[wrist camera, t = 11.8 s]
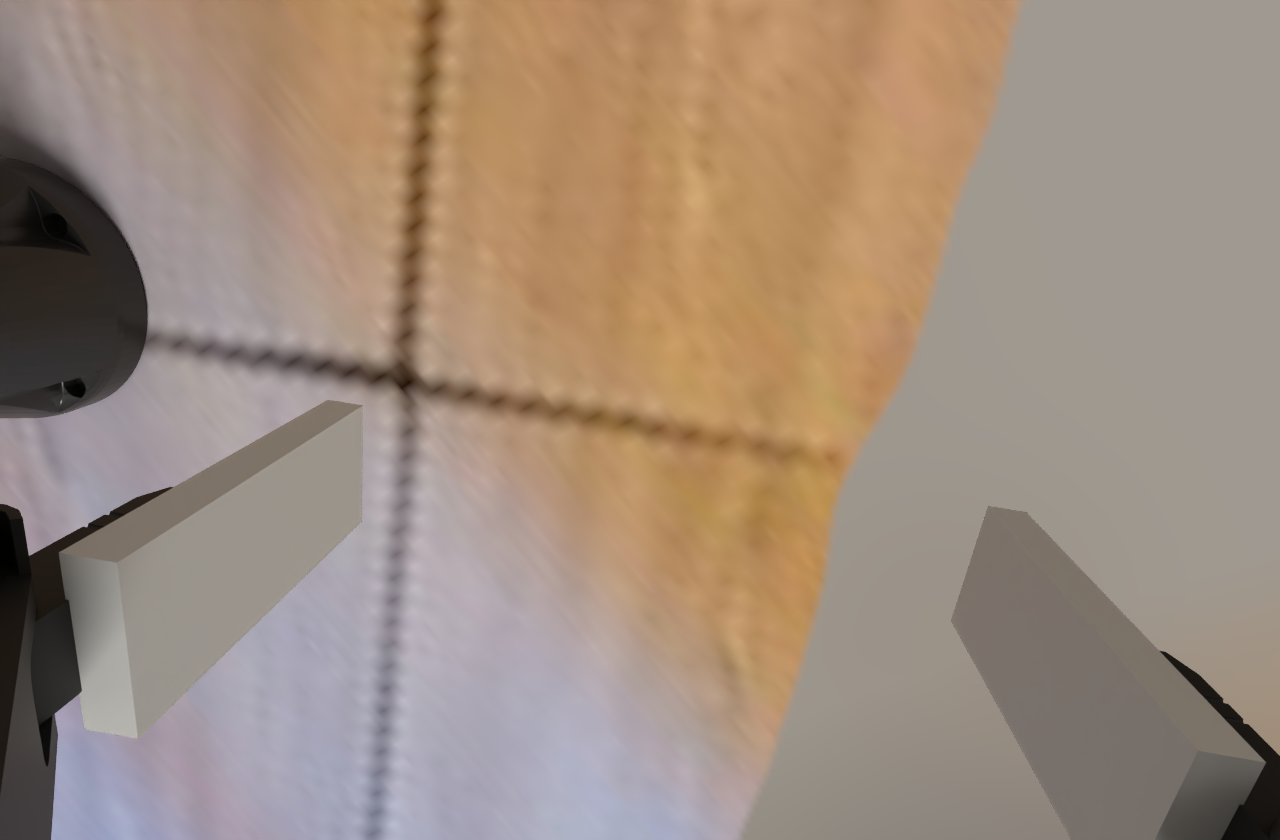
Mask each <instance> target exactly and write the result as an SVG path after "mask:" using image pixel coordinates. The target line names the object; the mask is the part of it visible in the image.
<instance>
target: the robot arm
mask: <svg viewBox="0 0 1280 840" xmlns="http://www.w3.org/2000/svg"><path fill="white" fill-rule="evenodd" d="M146 330H147V309H146V300H145V295H144V290H143V286H142V282H141V279H140V276H139V273H138V270H137V268H136V265H135V262H134V260H133V258H132V256H131V254H130V252H129V250H128V248H127V246H126V245H125V243H124V241H123V240H122V238H121V236H120V235H119V233H118V232H117V230H116V229H115V228H114V226H113V225H112V224H111V222H110V221H109V220H108V218H107V217H106V216H105V215H104V214H103V213H102V212H101V210H100V209H99V208H98V207H97V206H96V205H95V204H94V203H93V202H92V201H91V200H89V199H88V198H87V197H86V196H85V195H84V194H83V193H81V192H80V191H79V190H78V189H76V188H75V187H74V186H72V185H71V184H69V183H68V182H66V181H65V180H63V179H62V178H60V177H58V176H56V175H55V174H53V173H51V172H49V171H47V170H44V169H42V168H40V167H37V166H35V165H32V164H29V163H25V162H22V161H17V160H12V159H5V158H0V418H42V417H49V416H55V415H60V414H64V413H67V412H70V411H73V410H76V409H79V408H82V407H85V406H87V405H90V404H93V403H96V402H98V401H100V400H102V399H104V398H106V397H108V396H109V395H111V394H112V393H114V392H115V391H116V390H118V389H119V388H120V387H121V386H122V385H123V384H124V383H125V382H126V381H127V380H128V378H129V377H130V375H131V374H132V373H133V371H134V369H135V368H136V366H137V364H138V362H139V359H140V357H141V354H142V351H143V347H144V343H145V338H146ZM362 448H363V406H362V405H356V404H350V403H344V402H338V401H331V400H327V401H325V402H323V403H322V404H320V405H318V406H316V407H315V408H313V409H311V410H309V411H308V412H306V413H304V414H302V415H301V416H299V417H297V418H295V419H293V420H292V421H290V422H288V423H286V424H285V425H283V426H281V427H279V428H278V429H276V430H274V431H272V432H271V433H269V434H267V435H265V436H263V437H262V438H260V439H258V440H256V441H255V442H253V443H251V444H249V445H248V446H246V447H244V448H242V449H241V450H239V451H237V452H235V453H233V454H232V455H230V456H228V457H226V458H225V459H223V460H221V461H219V462H218V463H216V464H214V465H212V466H211V467H209V468H207V469H205V470H203V471H202V472H200V473H198V474H196V475H195V476H193V477H191V478H189V479H188V480H186V481H184V482H182V483H181V484H179V485H177V486H175V487H169V488H166V489H162V490H159V491H156V492H153V493H149V494H146V495H143V496H140V497H136V498H135V499H133V500H131V501H129V502H127V503H125V504H124V505H122V506H120V507H118V508H116V509H114V510H113V511H111V512H110V514H109V515H103V516H102V517H100V518H98V519H96V520H94V521H93V522H91V523H89V524H88V527H82V528H80V529H78V530H76V531H74V532H72V533H71V534H69V535H67V536H65V537H63V538H61V539H60V540H58V541H56V542H54V543H52V544H51V545H49V546H47V547H45V548H43V549H41V550H40V551H38V552H36V553H34V554H32V555H30V556H29V555H28V549H27V542H26V536H25V530H24V524H23V518H22V516H21V513H20V511H19V510H18V509H15V508H13V507H10V506H8V505H4V504H0V840H51V830H52V815H53V800H54V785H55V770H56V754H57V739H58V733H57V727H56V720H55V713H56V712H57V711H58V710H60V709H61V708H62V707H63V706H65V705H66V704H67V703H68V702H69V701H71V700H72V699H73V698H74V697H76V696H77V695H78V694H80V701H81V708H82V715H83V721H84V728H85V729H88V730H93V731H98V732H104V733H109V734H115V735H120V736H125V737H131V738H136V739H138V738H139V737H140V736H141V735H142V734H143V733H144V732H145V731H147V730H148V729H149V728H150V727H151V726H152V725H153V724H154V723H155V722H156V721H157V720H158V719H159V718H160V717H161V716H162V715H163V714H164V713H165V712H166V711H167V710H168V709H169V708H170V707H171V706H172V705H173V704H174V703H175V702H176V701H177V700H178V699H179V698H181V697H182V696H183V695H184V694H185V693H186V692H187V691H188V690H189V689H190V688H191V687H192V686H193V685H194V684H195V683H196V682H197V681H198V680H199V679H200V678H201V677H202V676H203V675H204V674H205V673H206V672H207V671H208V670H209V669H210V668H211V667H212V666H213V665H215V664H216V663H217V662H218V661H219V660H220V659H221V658H222V657H223V656H224V655H225V654H226V653H227V652H228V651H229V650H230V649H231V648H232V647H233V646H234V645H235V644H236V643H237V642H238V641H239V640H240V639H241V638H242V637H243V636H244V635H245V634H246V633H248V632H249V631H250V630H251V629H252V628H253V627H254V626H255V625H256V624H257V623H258V622H259V621H260V620H261V619H262V618H263V617H264V616H265V615H266V614H267V613H268V612H269V611H270V610H271V609H272V608H273V607H274V606H275V605H276V604H277V603H278V602H279V601H280V600H282V599H283V598H284V597H285V596H286V595H287V594H288V593H289V592H290V591H291V590H292V589H293V588H294V587H295V586H296V585H297V584H298V583H299V582H300V581H301V580H302V579H303V578H304V577H305V576H306V575H307V574H308V573H309V572H310V571H311V570H312V569H313V568H314V567H316V566H317V565H318V564H319V563H320V562H321V561H322V560H323V559H324V558H325V557H326V556H327V555H328V554H329V553H330V552H331V551H332V550H333V549H334V548H335V547H336V546H337V545H338V544H339V543H340V542H341V541H342V540H343V539H344V538H345V537H346V536H347V535H349V534H350V533H351V532H352V531H353V530H354V529H355V528H356V527H357V526H358V525H359V524H360V523H361V522H362ZM951 622H952V623H953V625H954V627H955V629H956V631H957V632H958V634H959V636H960V638H961V640H962V642H963V643H964V645H965V647H966V649H967V651H968V652H969V654H970V656H971V658H972V660H973V662H974V663H975V665H976V667H977V669H978V671H979V673H980V675H981V676H982V678H983V680H984V682H985V684H986V685H987V687H988V689H989V691H990V693H991V695H992V696H993V698H994V700H995V702H996V704H997V706H998V707H999V709H1000V711H1001V713H1002V715H1003V716H1004V718H1005V720H1006V722H1007V723H1008V725H1009V727H1010V729H1011V731H1012V733H1013V735H1014V737H1015V738H1016V740H1017V742H1018V744H1019V746H1020V747H1021V749H1022V751H1023V753H1024V754H1025V757H1026V758H1027V760H1028V762H1029V764H1030V766H1031V767H1032V769H1033V771H1034V773H1035V775H1036V777H1037V778H1038V780H1039V782H1040V784H1041V786H1042V787H1043V789H1044V791H1045V793H1046V795H1047V796H1048V798H1049V800H1050V802H1051V804H1052V806H1053V808H1054V809H1055V811H1056V813H1057V815H1058V817H1059V819H1060V820H1061V822H1062V824H1063V826H1064V828H1065V829H1066V831H1067V833H1068V835H1069V837H1070V838H1071V840H1280V756H1279V755H1278V754H1277V753H1276V752H1275V751H1274V750H1273V749H1272V748H1271V747H1270V746H1269V745H1268V744H1267V743H1266V742H1265V741H1264V740H1263V739H1262V738H1261V737H1260V736H1259V735H1258V734H1257V733H1256V732H1255V731H1254V730H1253V729H1252V728H1251V727H1250V726H1249V725H1248V724H1244V723H1243V718H1241V716H1240V715H1238V713H1237V712H1235V710H1234V709H1233V708H1232V707H1231V706H1230V705H1228V704H1225V703H1223V698H1222V697H1220V695H1219V694H1218V693H1217V692H1216V691H1215V690H1214V689H1213V688H1212V687H1211V686H1210V685H1209V684H1208V683H1207V682H1206V681H1205V680H1204V679H1203V678H1202V677H1201V676H1200V675H1199V674H1197V673H1196V672H1194V671H1193V670H1191V669H1190V668H1188V667H1187V666H1185V665H1184V664H1182V663H1181V662H1179V661H1178V660H1177V659H1175V658H1174V657H1172V656H1171V655H1169V654H1168V653H1166V652H1163V651H1159V650H1158V649H1157V648H1156V647H1155V646H1154V645H1153V644H1152V643H1151V642H1150V641H1149V640H1148V639H1147V638H1146V637H1145V636H1144V635H1143V634H1142V633H1141V631H1140V630H1139V629H1138V628H1137V627H1136V626H1135V625H1134V624H1133V623H1132V622H1131V621H1130V620H1129V619H1128V618H1127V617H1126V616H1125V615H1124V614H1123V613H1122V612H1121V611H1120V610H1119V608H1118V607H1117V606H1116V605H1115V604H1114V603H1113V602H1112V601H1111V600H1110V599H1109V598H1108V597H1107V596H1106V595H1105V594H1104V593H1103V592H1102V591H1101V590H1100V589H1099V588H1098V587H1097V585H1096V584H1094V582H1093V581H1092V580H1091V579H1090V578H1089V577H1088V576H1087V575H1086V574H1085V573H1084V572H1083V571H1082V570H1081V569H1080V568H1079V567H1078V566H1077V565H1076V564H1075V563H1074V561H1073V560H1072V559H1071V558H1070V557H1069V556H1068V555H1067V554H1066V553H1065V552H1064V551H1063V550H1062V549H1061V548H1060V547H1059V546H1058V545H1057V544H1056V543H1055V542H1054V541H1053V540H1052V539H1051V537H1049V535H1048V534H1047V533H1046V532H1045V531H1044V530H1043V529H1042V528H1041V527H1040V526H1039V525H1038V524H1037V523H1036V522H1035V521H1034V520H1033V519H1032V518H1031V517H1030V516H1029V515H1028V513H1027V512H1022V511H1016V510H1010V509H1004V508H997V507H991V506H988V508H987V511H986V514H985V517H984V521H983V524H982V527H981V530H980V533H979V536H978V539H977V542H976V545H975V548H974V551H973V555H972V557H971V561H970V564H969V567H968V570H967V573H966V576H965V579H964V582H963V585H962V588H961V592H960V595H959V598H958V601H957V604H956V607H955V610H954V613H953V616H952V619H951Z"/></svg>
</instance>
